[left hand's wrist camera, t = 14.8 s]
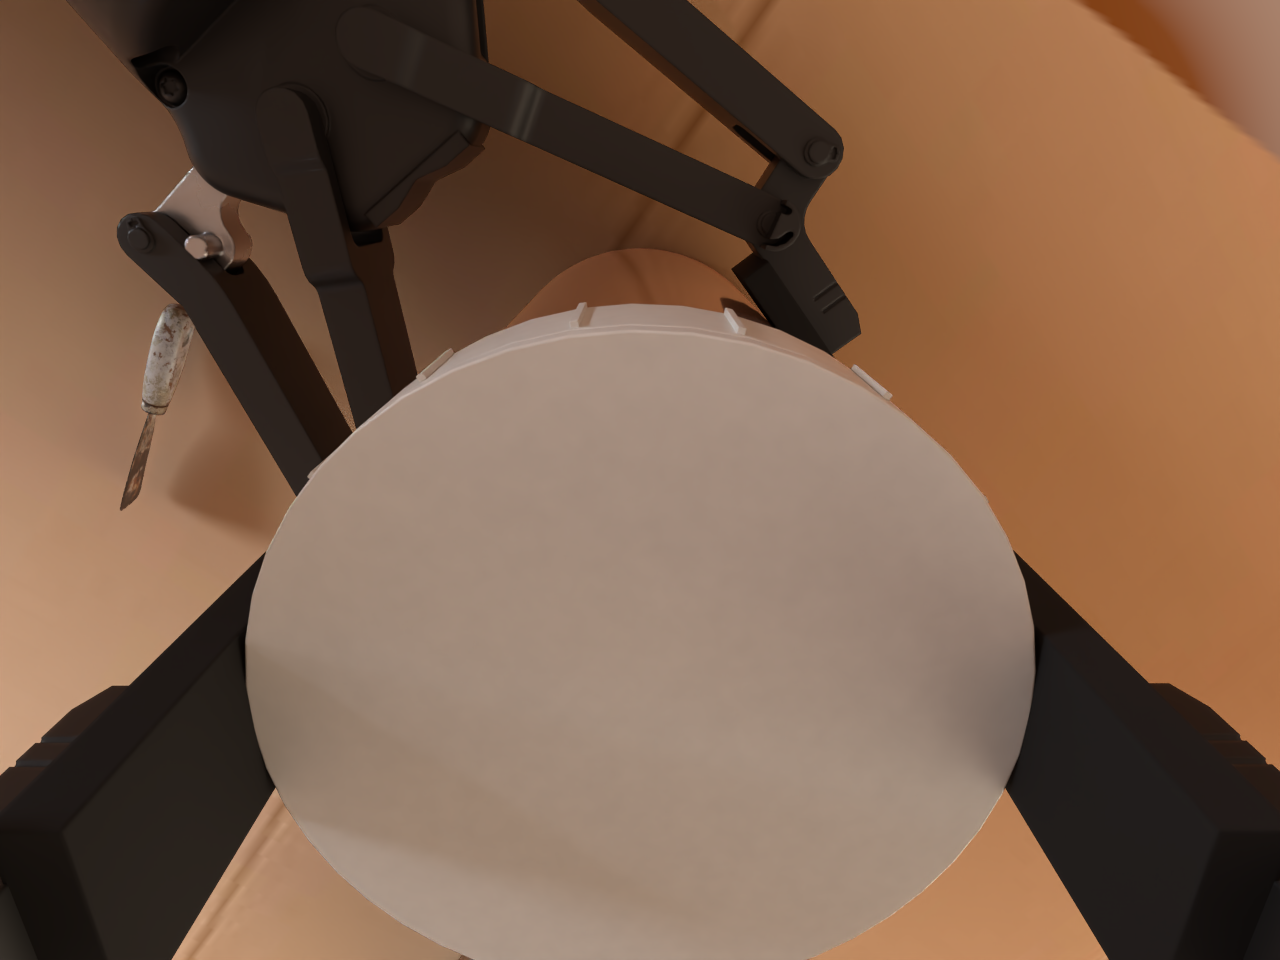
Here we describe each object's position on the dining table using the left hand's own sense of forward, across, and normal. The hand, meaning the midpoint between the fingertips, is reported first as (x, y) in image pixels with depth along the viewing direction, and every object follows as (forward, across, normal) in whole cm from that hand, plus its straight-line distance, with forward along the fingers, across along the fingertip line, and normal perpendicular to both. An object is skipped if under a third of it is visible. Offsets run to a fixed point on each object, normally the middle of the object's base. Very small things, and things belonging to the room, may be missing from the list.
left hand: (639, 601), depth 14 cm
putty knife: (+15, -17, 0) cm, 23 cm away
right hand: (+9, +3, -3) cm, 10 cm away
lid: (-3, 0, 0) cm, 3 cm away
